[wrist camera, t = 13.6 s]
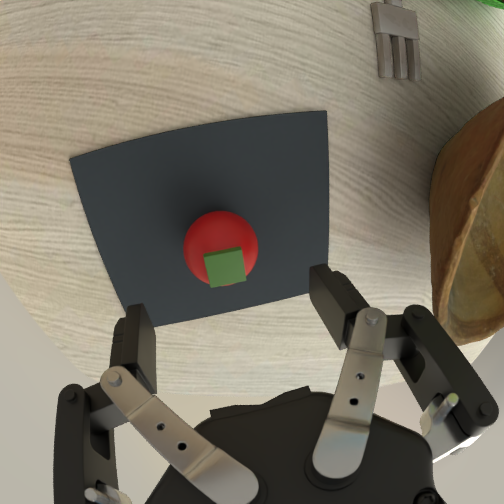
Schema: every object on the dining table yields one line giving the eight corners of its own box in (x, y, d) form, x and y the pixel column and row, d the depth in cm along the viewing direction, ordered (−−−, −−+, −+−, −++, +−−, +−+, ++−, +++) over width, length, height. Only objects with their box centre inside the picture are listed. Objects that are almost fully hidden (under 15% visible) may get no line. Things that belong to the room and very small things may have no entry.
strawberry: (190, 266, 21) (193, 309, 17) (176, 207, 18) (174, 241, 15) (253, 254, 21) (269, 293, 17) (246, 194, 19) (262, 223, 15)
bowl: (315, 114, 17) (426, 150, 9) (496, 41, 15) (579, 58, 7) (387, 316, 29) (438, 386, 21) (514, 214, 27) (568, 253, 19)
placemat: (134, 329, 23) (134, 330, 22) (70, 158, 15) (68, 159, 15) (325, 286, 25) (326, 288, 24) (325, 110, 17) (326, 110, 17)
